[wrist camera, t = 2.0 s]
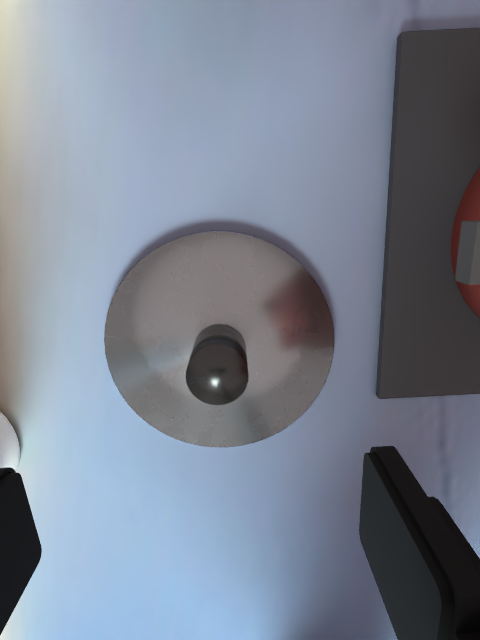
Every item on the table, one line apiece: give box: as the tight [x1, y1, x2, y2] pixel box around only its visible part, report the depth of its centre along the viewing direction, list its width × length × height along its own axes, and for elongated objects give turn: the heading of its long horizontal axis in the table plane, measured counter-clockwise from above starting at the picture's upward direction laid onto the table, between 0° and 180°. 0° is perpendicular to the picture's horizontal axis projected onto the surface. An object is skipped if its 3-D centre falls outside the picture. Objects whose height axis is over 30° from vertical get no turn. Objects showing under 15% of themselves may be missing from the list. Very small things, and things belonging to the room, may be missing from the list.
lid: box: [104, 231, 334, 447], centre depth 21 cm, size 14×14×5 cm
